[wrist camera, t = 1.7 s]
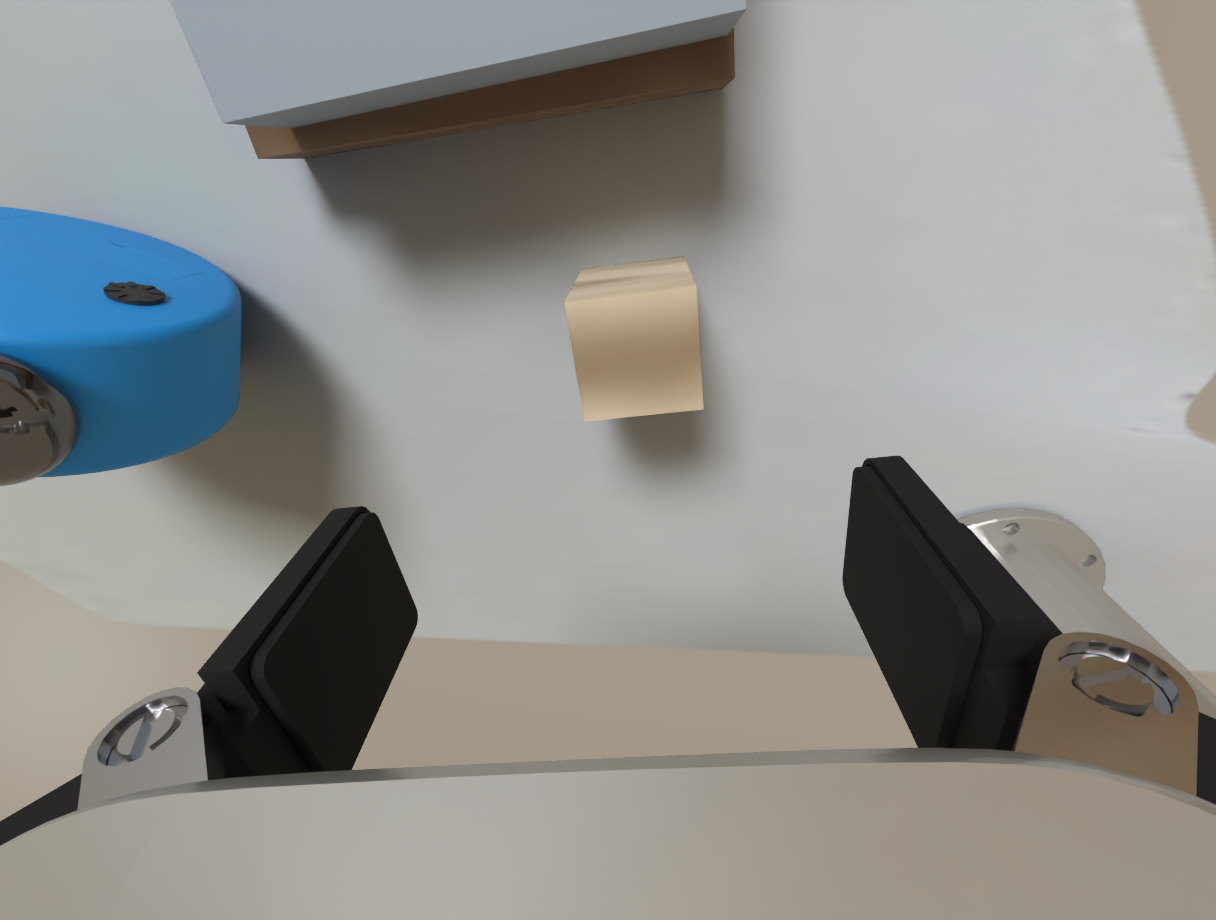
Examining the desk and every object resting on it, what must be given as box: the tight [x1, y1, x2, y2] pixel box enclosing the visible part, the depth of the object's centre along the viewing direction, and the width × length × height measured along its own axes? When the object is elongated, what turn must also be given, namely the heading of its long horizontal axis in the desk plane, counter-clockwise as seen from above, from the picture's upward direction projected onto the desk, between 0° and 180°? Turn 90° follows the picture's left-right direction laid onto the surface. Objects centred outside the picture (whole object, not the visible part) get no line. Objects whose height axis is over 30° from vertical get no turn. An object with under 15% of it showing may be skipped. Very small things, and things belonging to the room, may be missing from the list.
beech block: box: [564, 256, 704, 421], centre depth 25 cm, size 5×5×7 cm
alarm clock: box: [0, 207, 241, 486], centre depth 22 cm, size 13×6×15 cm, turn 70°
